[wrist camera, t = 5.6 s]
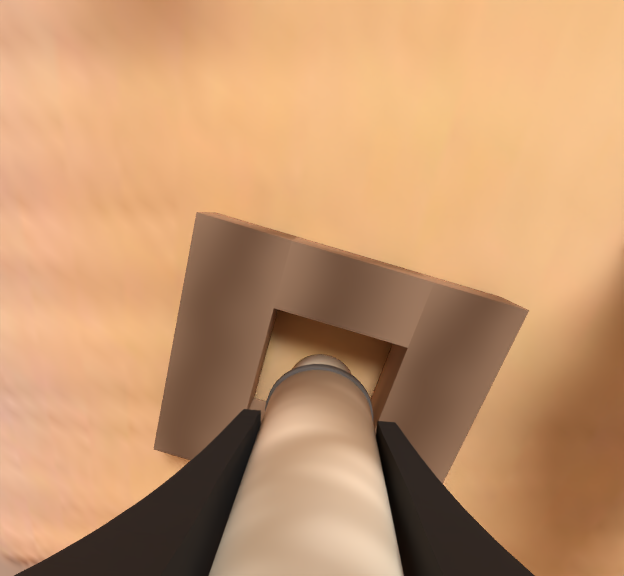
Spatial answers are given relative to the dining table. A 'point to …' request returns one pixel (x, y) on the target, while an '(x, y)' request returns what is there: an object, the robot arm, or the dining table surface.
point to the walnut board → (337, 312)
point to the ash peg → (312, 484)
